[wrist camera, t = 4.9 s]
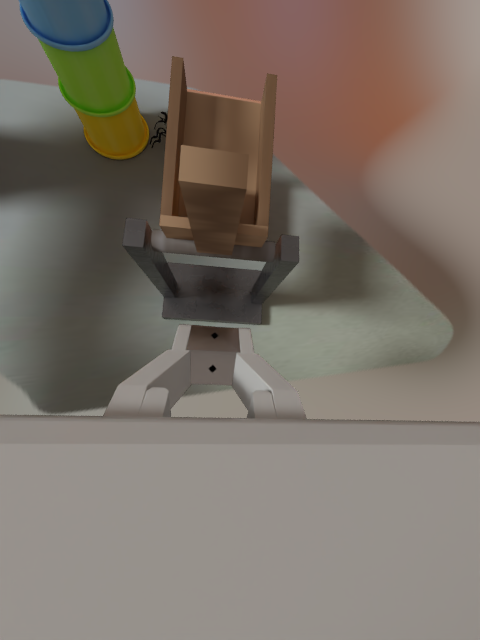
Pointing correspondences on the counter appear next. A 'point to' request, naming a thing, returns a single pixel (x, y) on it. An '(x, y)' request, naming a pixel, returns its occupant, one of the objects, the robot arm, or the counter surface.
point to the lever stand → (209, 280)
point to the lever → (216, 174)
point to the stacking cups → (90, 71)
